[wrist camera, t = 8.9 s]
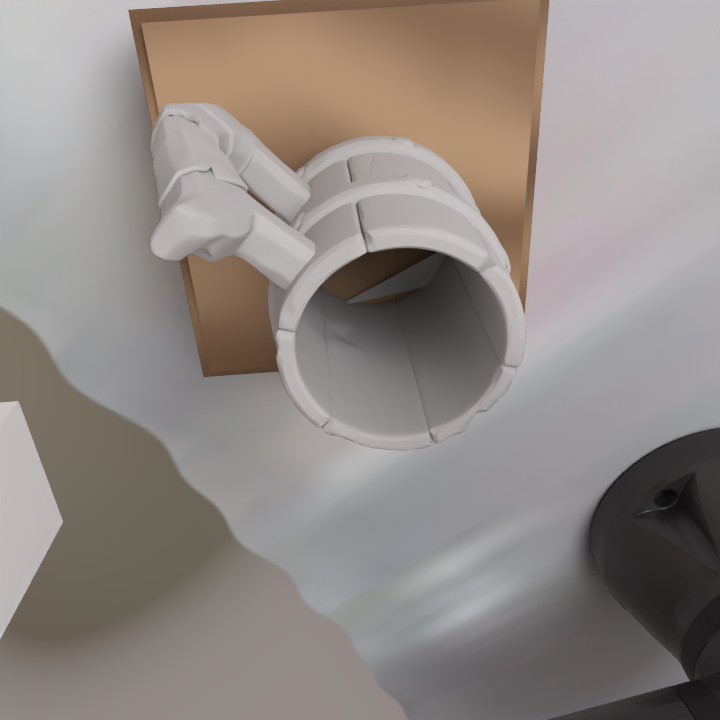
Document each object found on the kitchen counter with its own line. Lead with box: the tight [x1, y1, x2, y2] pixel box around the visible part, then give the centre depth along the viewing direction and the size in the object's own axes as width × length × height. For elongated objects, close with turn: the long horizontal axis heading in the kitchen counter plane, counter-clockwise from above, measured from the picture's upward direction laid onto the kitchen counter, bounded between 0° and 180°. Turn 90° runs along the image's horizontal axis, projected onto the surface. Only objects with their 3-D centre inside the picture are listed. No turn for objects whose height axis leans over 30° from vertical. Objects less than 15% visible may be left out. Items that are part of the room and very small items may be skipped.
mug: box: [149, 103, 526, 450], centre depth 18 cm, size 8×12×12 cm, turn 52°
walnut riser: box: [128, 0, 549, 377], centre depth 26 cm, size 14×14×6 cm
